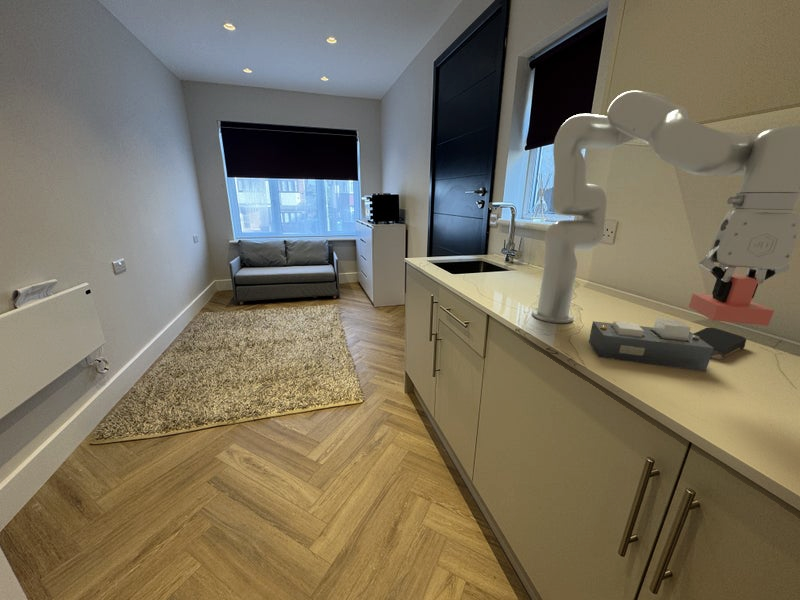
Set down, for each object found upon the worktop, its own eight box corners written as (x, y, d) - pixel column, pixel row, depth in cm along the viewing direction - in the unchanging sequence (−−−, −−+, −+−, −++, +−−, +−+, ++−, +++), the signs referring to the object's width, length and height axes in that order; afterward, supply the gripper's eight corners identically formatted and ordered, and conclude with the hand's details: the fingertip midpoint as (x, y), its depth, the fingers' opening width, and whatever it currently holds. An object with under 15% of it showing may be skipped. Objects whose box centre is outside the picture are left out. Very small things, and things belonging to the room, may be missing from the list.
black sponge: (705, 337, 93) (709, 326, 92) (745, 349, 86) (750, 337, 84) (677, 349, 85) (681, 336, 84) (719, 363, 78) (723, 349, 77)
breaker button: (610, 335, 84) (613, 321, 83) (632, 337, 83) (635, 323, 82) (616, 342, 80) (620, 328, 78) (639, 345, 78) (643, 330, 77)
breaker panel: (588, 341, 89) (595, 309, 86) (682, 352, 83) (693, 318, 80) (599, 357, 79) (607, 322, 76) (706, 371, 73) (719, 334, 70)
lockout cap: (688, 306, 68) (699, 270, 66) (737, 311, 66) (750, 273, 64) (712, 320, 61) (726, 279, 58) (768, 325, 59) (784, 283, 56)
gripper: (721, 203, 56) (690, 302, 61) (845, 205, 51) (800, 311, 57) (697, 202, 63) (671, 292, 68) (805, 204, 58) (768, 299, 64)
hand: (730, 300), depth 63 cm, fingers closed on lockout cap, 3 cm apart
